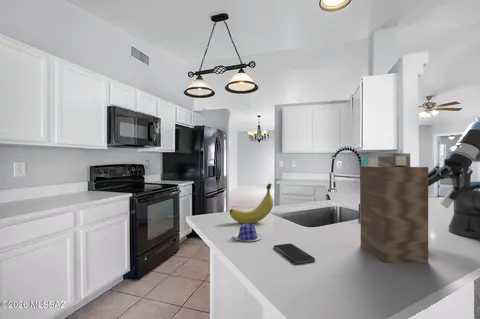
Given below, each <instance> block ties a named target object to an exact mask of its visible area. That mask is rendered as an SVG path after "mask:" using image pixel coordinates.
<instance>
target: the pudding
mask: <svg viewBox="0 0 480 319" xmlns="http://www.w3.org/2000/svg"><path fill="white" fill-rule="evenodd" d="M255 226H256V225H254V224H253V223H242V224H241V225H240V226H239V232H237V233H234V234H233V236H232V237H233V238H234V239H235V240H237V241H241V242H244V241H245V242H256V241H259V240H261V239H262V238H263V235H262V234H260V233H258V232H257V230H256V227H255Z"/></svg>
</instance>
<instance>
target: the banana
mask: <svg viewBox="0 0 480 319" xmlns="http://www.w3.org/2000/svg"><path fill="white" fill-rule="evenodd" d="M265 188H266V194H265V196H264V197H263V199H262V200H261V202H260V203H259V205H258V206H256V207H255V208H253V209H251V210H247V211H246V210H244V211H243V210H240V209H239V210H238V209H235V208H232V209H230V210H229V215H230V217H231V218H232V219H233V220H234V221H235V222H237V223H241V224H255V223H258V222H260V221H262V220H264V218H266V217H267V216H268V215H269V214H270V213H271V211H272V210H273V207H274V199H273V197H272V194H271V189H272V183H267V186H266V187H265Z"/></svg>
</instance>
